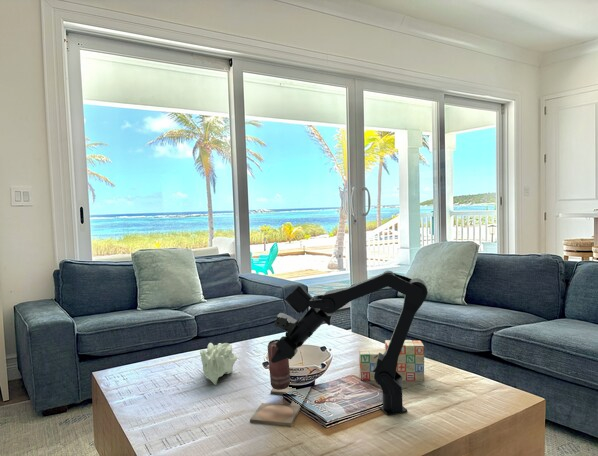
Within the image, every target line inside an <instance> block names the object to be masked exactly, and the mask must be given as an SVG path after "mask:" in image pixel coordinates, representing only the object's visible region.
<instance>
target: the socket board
mask: <svg viewBox="0 0 598 456" xmlns="http://www.w3.org/2000/svg"><path fill="white" fill-rule="evenodd" d="M292 390H296V388H292V387H288V388H286V389H282V390H276V389H274V388H272V389H271V390H270V395H282V396H283V394H284V393H285V392H289V391H292ZM300 408H301V409H302V407H301V406H300V405H299V404H297V403H295V402H294V401H293V400H292V401H291V403H290V404H278V403H266V402H265V403H264V402H262V403H261V404H259V406H258V408H257V409H256V410H255V412H254V413H253V414H252V416H251V417H250V418H249V423H254V424H255V423H256V424H266V425H267V424H268V425H275V426H276V425H278V426H287V427H288V426H289V427H291V426H293V424H294V422H295V420H296V418H297V416H298V414H299V412H300V411H301V409H300Z"/></svg>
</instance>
